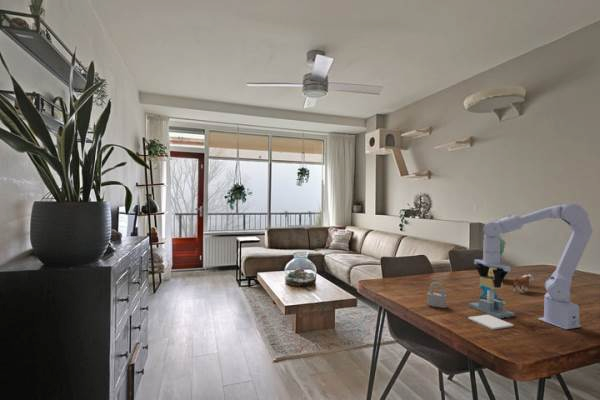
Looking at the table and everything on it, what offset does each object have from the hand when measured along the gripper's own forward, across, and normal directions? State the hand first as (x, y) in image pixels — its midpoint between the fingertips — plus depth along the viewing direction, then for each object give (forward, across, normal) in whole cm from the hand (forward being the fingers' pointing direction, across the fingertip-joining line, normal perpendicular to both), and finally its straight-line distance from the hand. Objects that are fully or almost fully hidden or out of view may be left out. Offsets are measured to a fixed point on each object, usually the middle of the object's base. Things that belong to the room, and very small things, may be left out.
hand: (491, 285), depth 123 cm
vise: (+10, 0, +2) cm, 11 cm away
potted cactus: (+11, -40, +50) cm, 65 cm away
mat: (+10, +9, -11) cm, 18 cm away
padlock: (+11, -11, -17) cm, 23 cm away
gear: (+11, -12, +13) cm, 20 cm away
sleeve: (0, 0, 0) cm, 0 cm away
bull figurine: (+11, -17, +42) cm, 47 cm away
